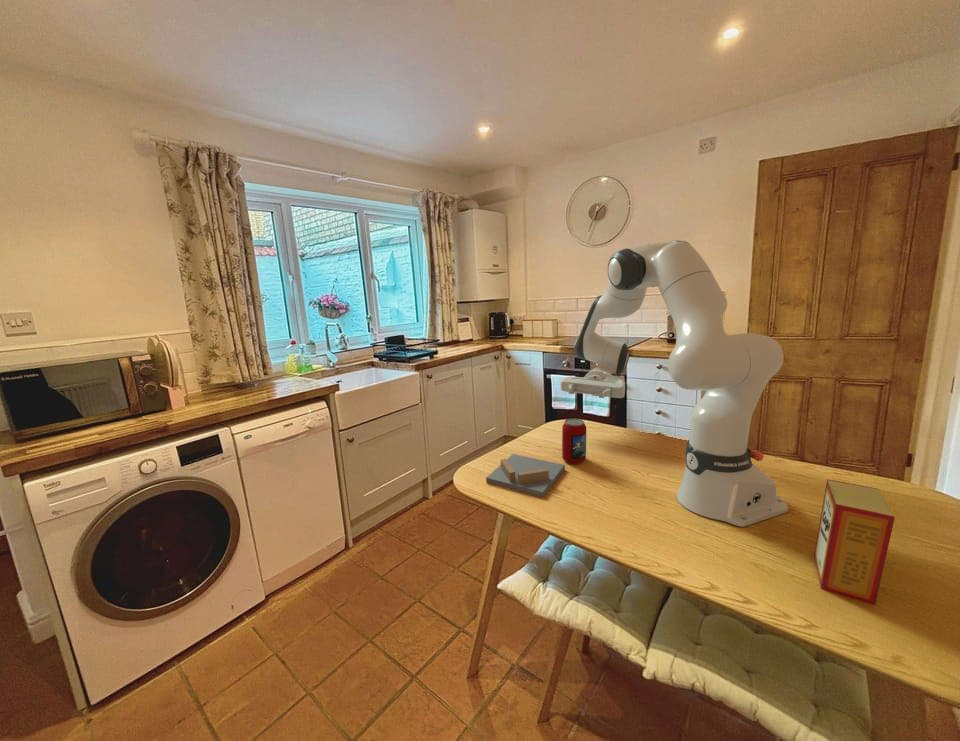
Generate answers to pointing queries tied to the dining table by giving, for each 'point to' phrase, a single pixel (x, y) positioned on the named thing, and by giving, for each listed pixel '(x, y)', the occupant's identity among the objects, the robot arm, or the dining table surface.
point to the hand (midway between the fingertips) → (585, 393)
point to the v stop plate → (523, 467)
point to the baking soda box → (852, 540)
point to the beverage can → (574, 441)
